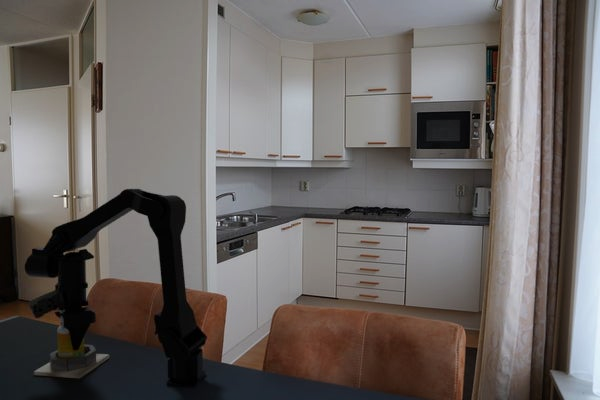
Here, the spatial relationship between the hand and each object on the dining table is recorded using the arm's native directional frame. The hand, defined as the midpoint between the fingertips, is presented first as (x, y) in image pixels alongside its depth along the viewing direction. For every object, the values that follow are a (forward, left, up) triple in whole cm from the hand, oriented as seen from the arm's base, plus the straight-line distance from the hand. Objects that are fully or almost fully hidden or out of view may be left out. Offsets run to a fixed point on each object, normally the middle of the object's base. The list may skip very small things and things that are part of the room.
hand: (73, 345), depth 99 cm
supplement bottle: (0, 0, -3) cm, 3 cm away
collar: (0, 0, -5) cm, 5 cm away
